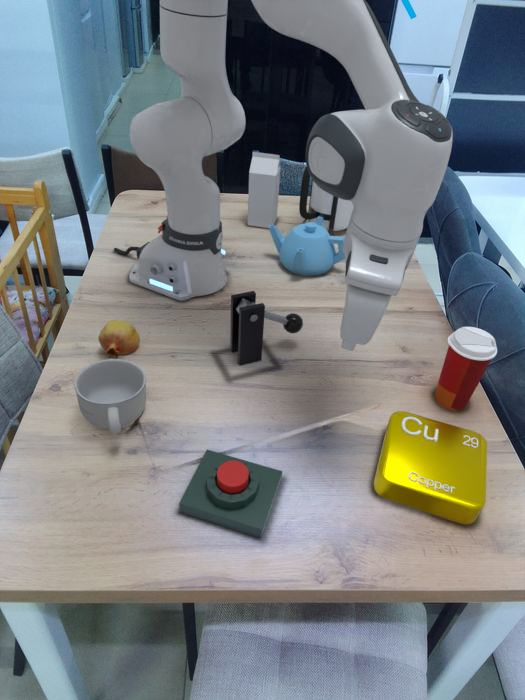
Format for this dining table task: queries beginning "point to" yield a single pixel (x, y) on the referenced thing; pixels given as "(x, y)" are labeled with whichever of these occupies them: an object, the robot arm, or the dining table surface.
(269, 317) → the lever
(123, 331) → the fruit
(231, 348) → the bracket
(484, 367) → the paper cup
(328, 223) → the coffee press
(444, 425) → the element tile
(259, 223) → the milk carton
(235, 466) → the button
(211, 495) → the box
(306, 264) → the teapot
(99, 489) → the dining table surface
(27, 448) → the dining table surface
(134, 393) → the teacup
